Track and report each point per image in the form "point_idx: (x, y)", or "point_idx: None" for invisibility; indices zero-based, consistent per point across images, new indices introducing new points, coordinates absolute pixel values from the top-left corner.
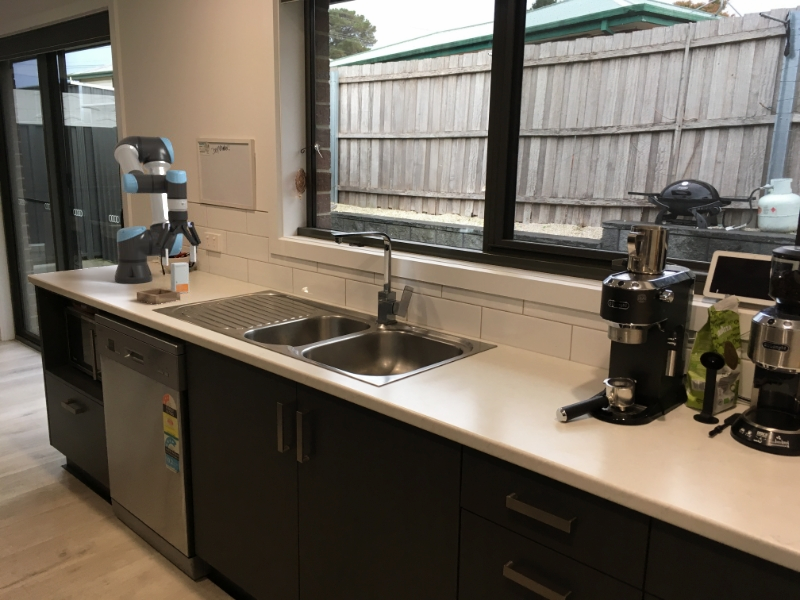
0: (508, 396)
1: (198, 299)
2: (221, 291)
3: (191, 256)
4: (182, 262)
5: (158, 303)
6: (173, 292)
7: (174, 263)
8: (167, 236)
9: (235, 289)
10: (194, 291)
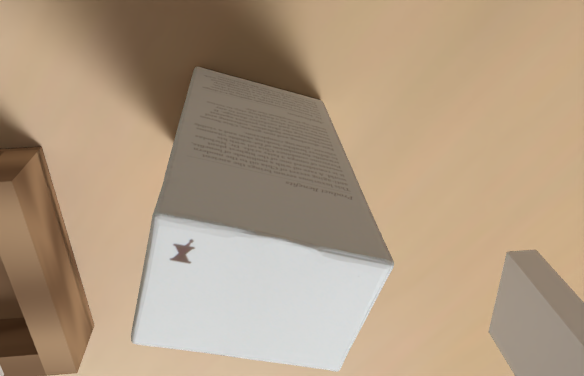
0: None
1: (200, 363)
2: (474, 279)
3: (545, 343)
4: (342, 274)
5: None
6: (23, 367)
7: (185, 281)
8: None
9: (580, 285)
10: (357, 165)
